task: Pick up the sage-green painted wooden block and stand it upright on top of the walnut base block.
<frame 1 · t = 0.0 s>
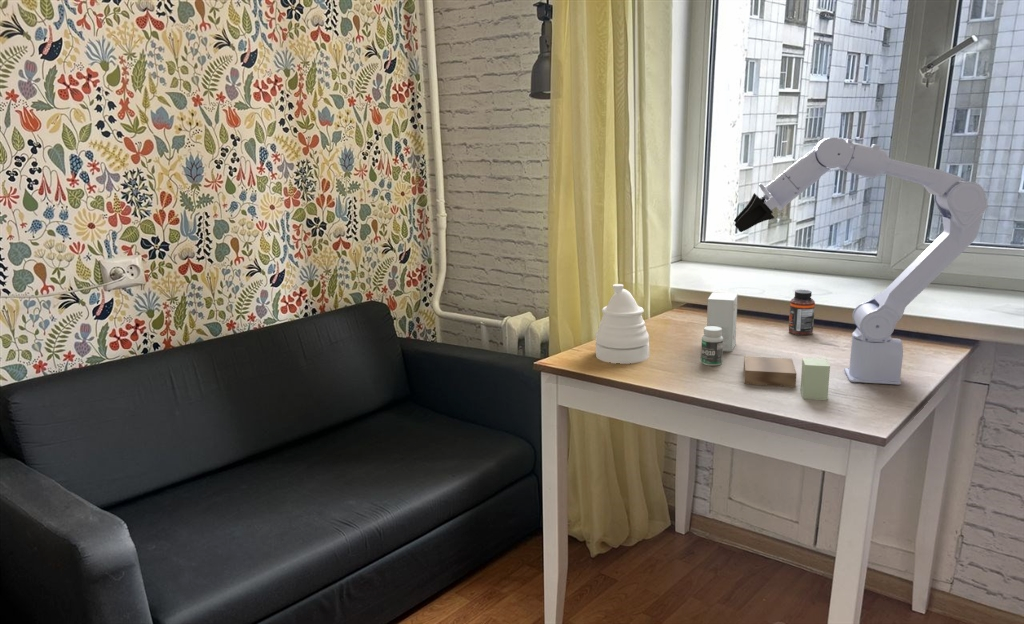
hand: (737, 226, 143), 32 cm above the table, tool tilted 50°, fingers open, 7 cm apart
supplement bottle: (800, 333, 177), on the table
pill bottle: (711, 363, 156), on the table
sage block: (813, 395, 134), on the table
walnut base: (768, 377, 145), on the table
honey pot: (622, 356, 164), on the table
small box: (720, 347, 168), on the table
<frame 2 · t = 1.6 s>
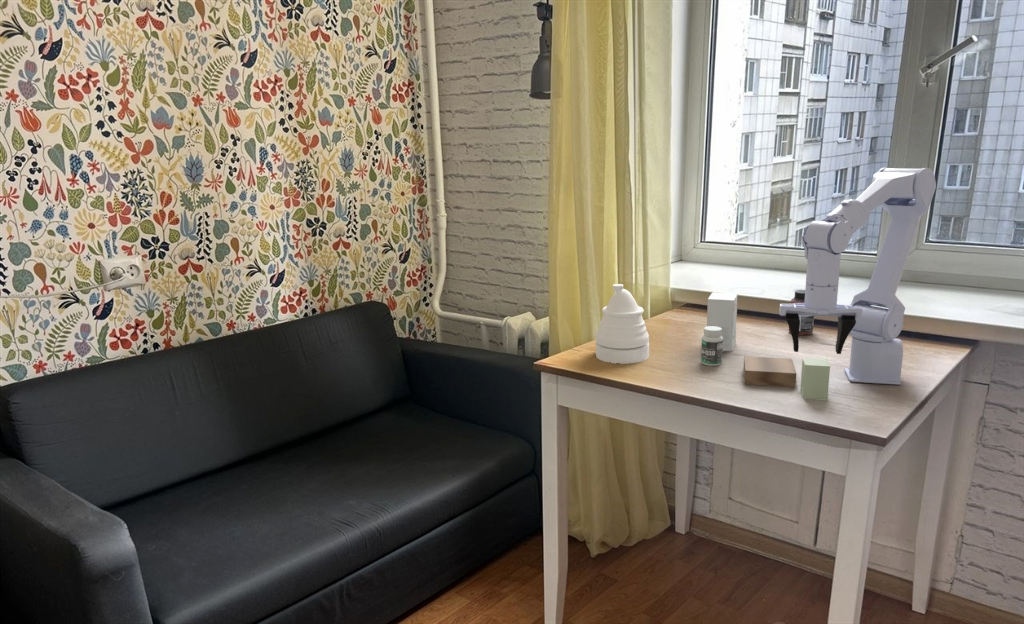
hand: (816, 351, 132), 9 cm above the table, tool pointing down, fingers open, 7 cm apart
nothing on the table moved.
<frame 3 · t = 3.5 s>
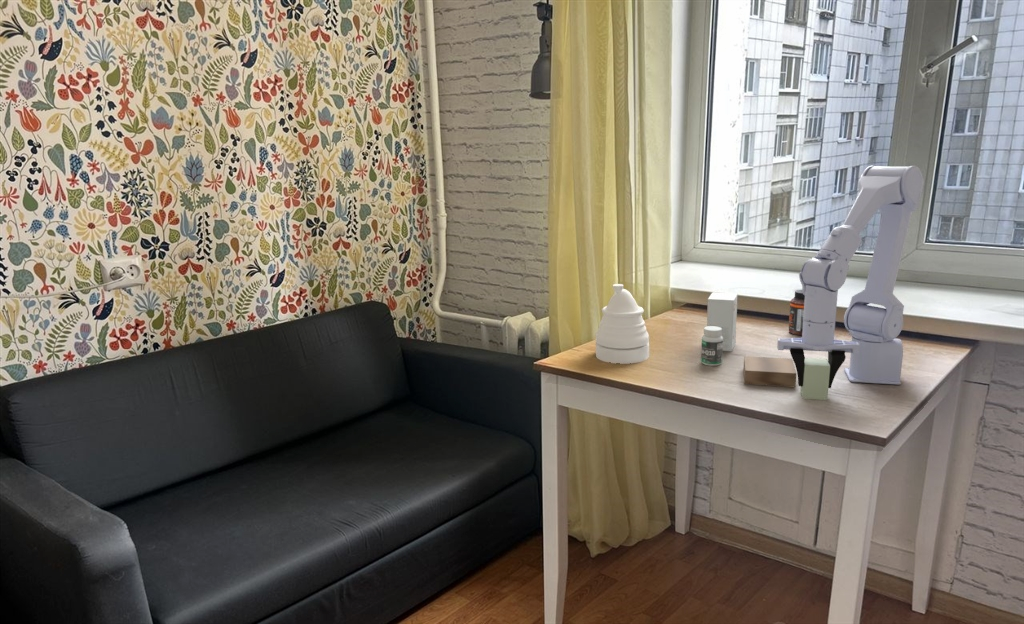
hand: (814, 385, 134), 2 cm above the table, tool pointing down, fingers closed on sage block, 4 cm apart
sage block: (813, 395, 134), on the table, touching gripper
everything else where it was.
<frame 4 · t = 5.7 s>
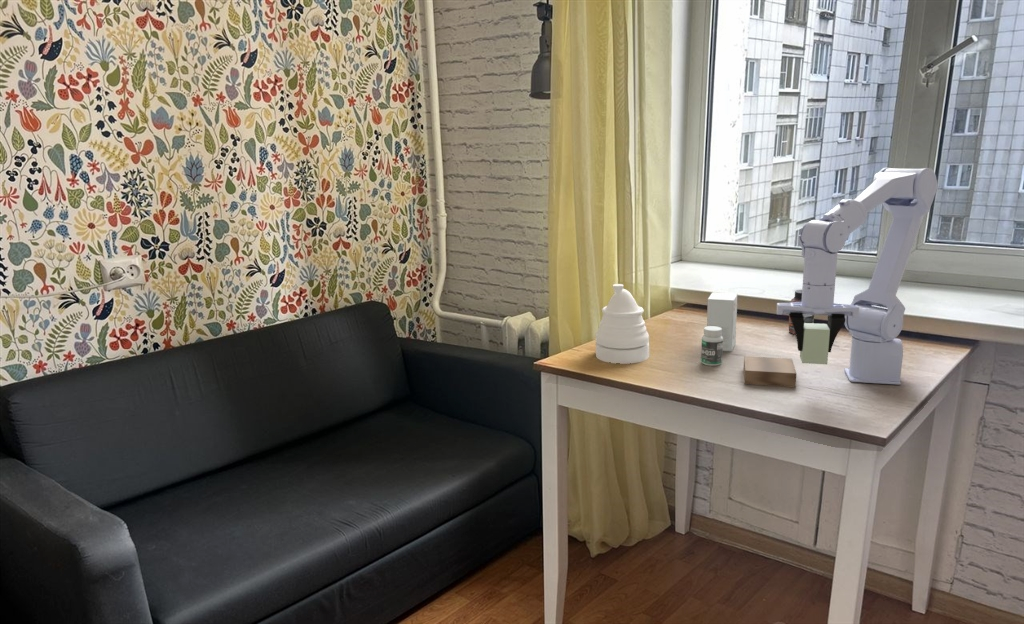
hand: (813, 350, 133), 9 cm above the table, tool pointing down, fingers closed on sage block, 4 cm apart
sage block: (813, 360, 133), point 7 cm above the table, touching gripper
everything else where it was.
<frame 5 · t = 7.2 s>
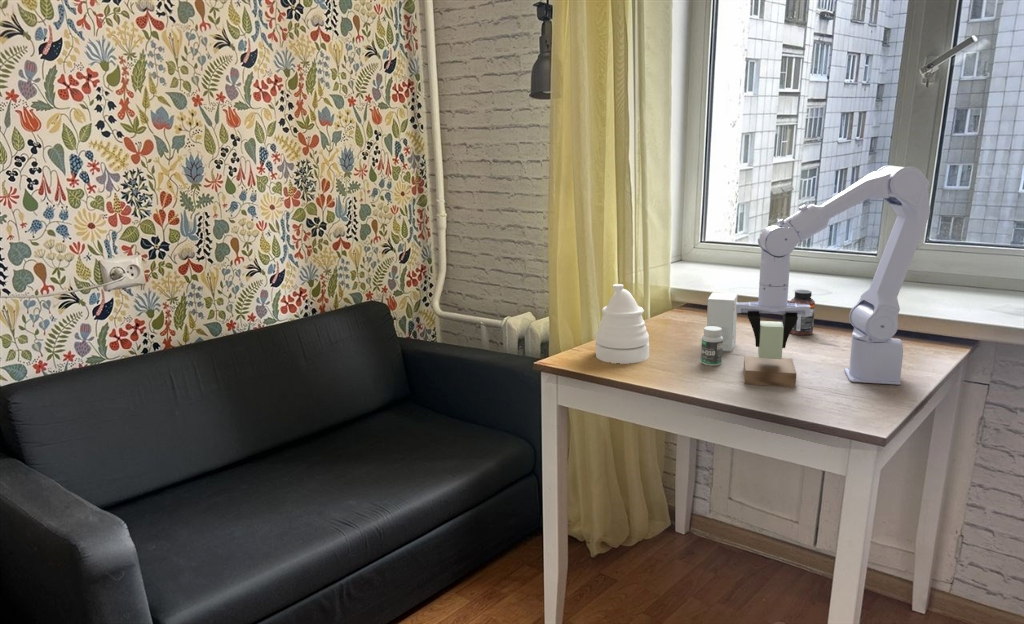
hand: (770, 346, 143), 7 cm above the table, tool pointing down, fingers closed on sage block, 4 cm apart
sage block: (769, 355, 144), point 5 cm above the table, touching gripper
everything else where it was.
when the fingers open (6 cm above the table, at t = 8.3 s): sage block stays where it is, resting on walnut base.
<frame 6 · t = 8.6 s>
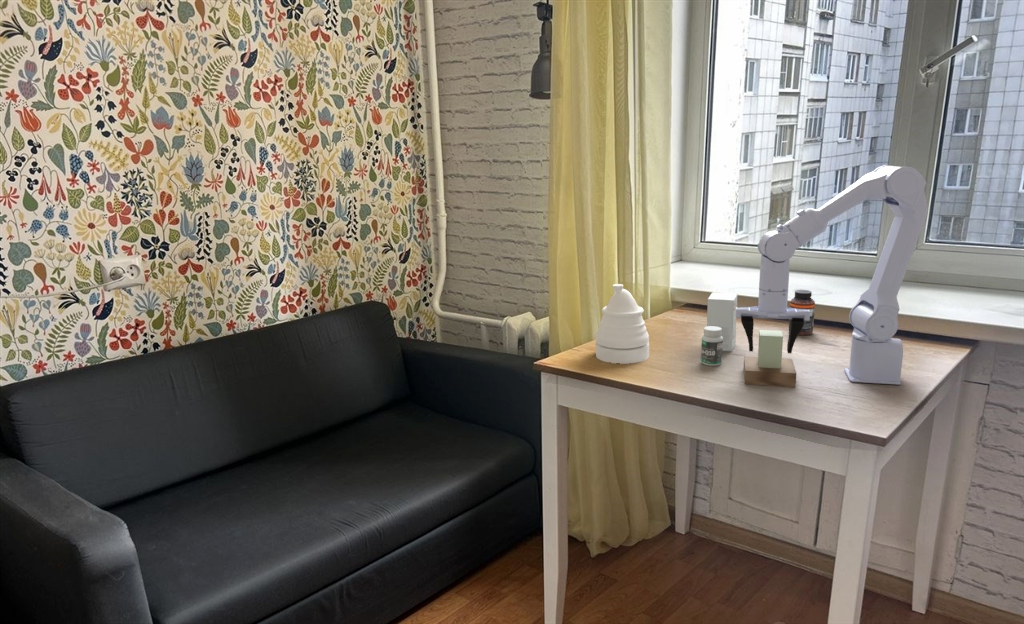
hand: (769, 351, 144), 6 cm above the table, tool pointing down, fingers open, 7 cm apart
sage block: (769, 364, 144), point 3 cm above the table, touching walnut base
everything else where it was.
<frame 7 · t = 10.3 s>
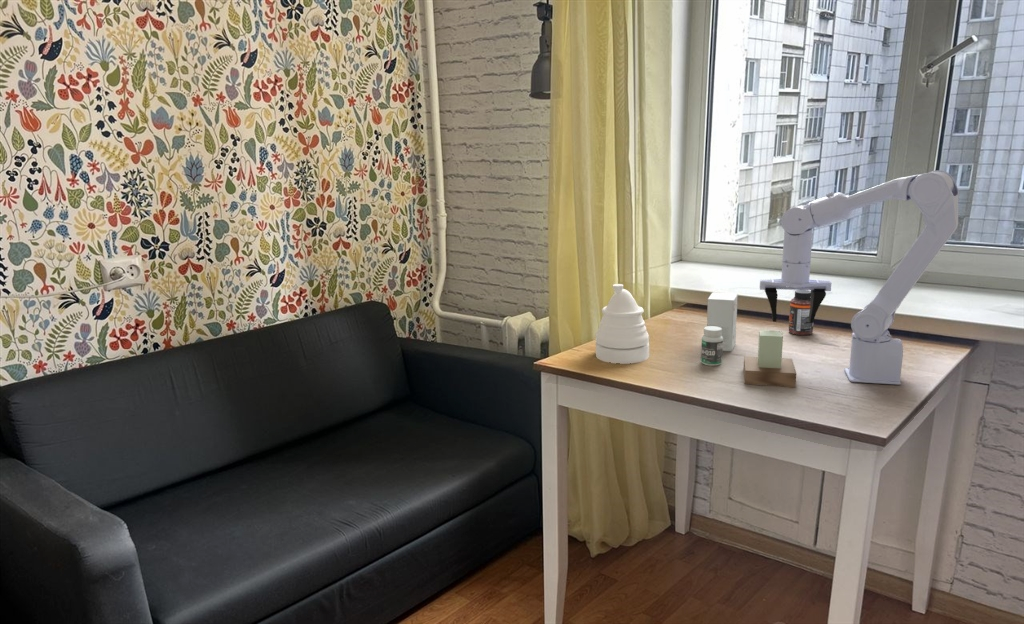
hand: (792, 321, 150), 10 cm above the table, tool pointing down, fingers open, 7 cm apart
nothing on the table moved.
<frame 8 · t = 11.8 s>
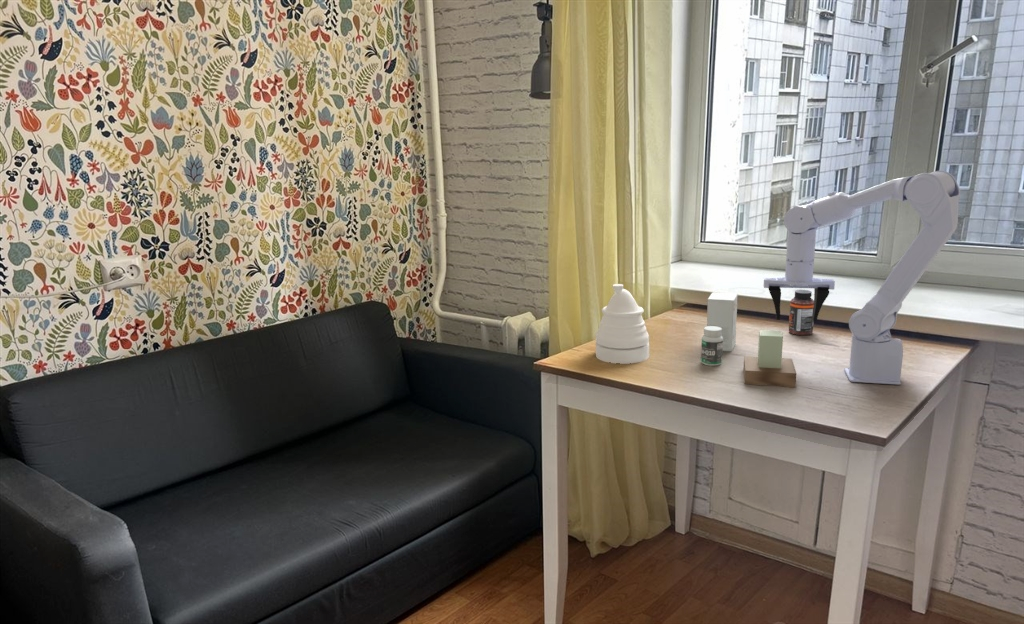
hand: (796, 319, 152), 10 cm above the table, tool pointing down, fingers open, 7 cm apart
nothing on the table moved.
at the end: sage block inside the target area on the walnut base (0.1 cm from its centre), point 3.0 cm above the walnut base's base; sage block tilted 0°; the gripper is holding nothing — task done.
